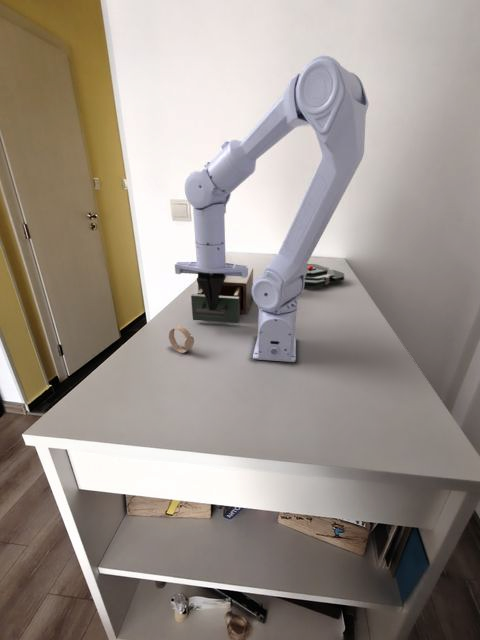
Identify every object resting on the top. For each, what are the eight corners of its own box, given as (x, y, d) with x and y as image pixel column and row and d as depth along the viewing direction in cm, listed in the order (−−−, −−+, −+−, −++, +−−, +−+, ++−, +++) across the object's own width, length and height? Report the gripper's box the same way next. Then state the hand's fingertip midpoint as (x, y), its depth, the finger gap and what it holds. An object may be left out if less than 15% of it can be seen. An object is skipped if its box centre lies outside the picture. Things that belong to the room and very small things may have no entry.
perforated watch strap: (185, 357, 62) (183, 333, 60) (167, 349, 64) (164, 326, 62) (195, 351, 64) (193, 327, 62) (177, 344, 66) (175, 321, 64)
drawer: (235, 331, 70) (235, 306, 67) (187, 328, 71) (185, 302, 68) (246, 303, 85) (246, 281, 82) (206, 300, 86) (205, 278, 83)
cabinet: (246, 313, 81) (246, 283, 77) (199, 310, 82) (197, 280, 78) (252, 294, 93) (253, 267, 89) (212, 292, 94) (210, 265, 90)
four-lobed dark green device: (269, 276, 108) (270, 262, 106) (309, 269, 118) (311, 256, 116) (308, 292, 96) (309, 277, 94) (349, 282, 106) (351, 268, 103)
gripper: (250, 240, 67) (249, 303, 74) (180, 236, 68) (185, 299, 75) (245, 247, 61) (245, 315, 68) (168, 243, 62) (175, 311, 69)
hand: (213, 308), depth 71 cm, fingers closed
